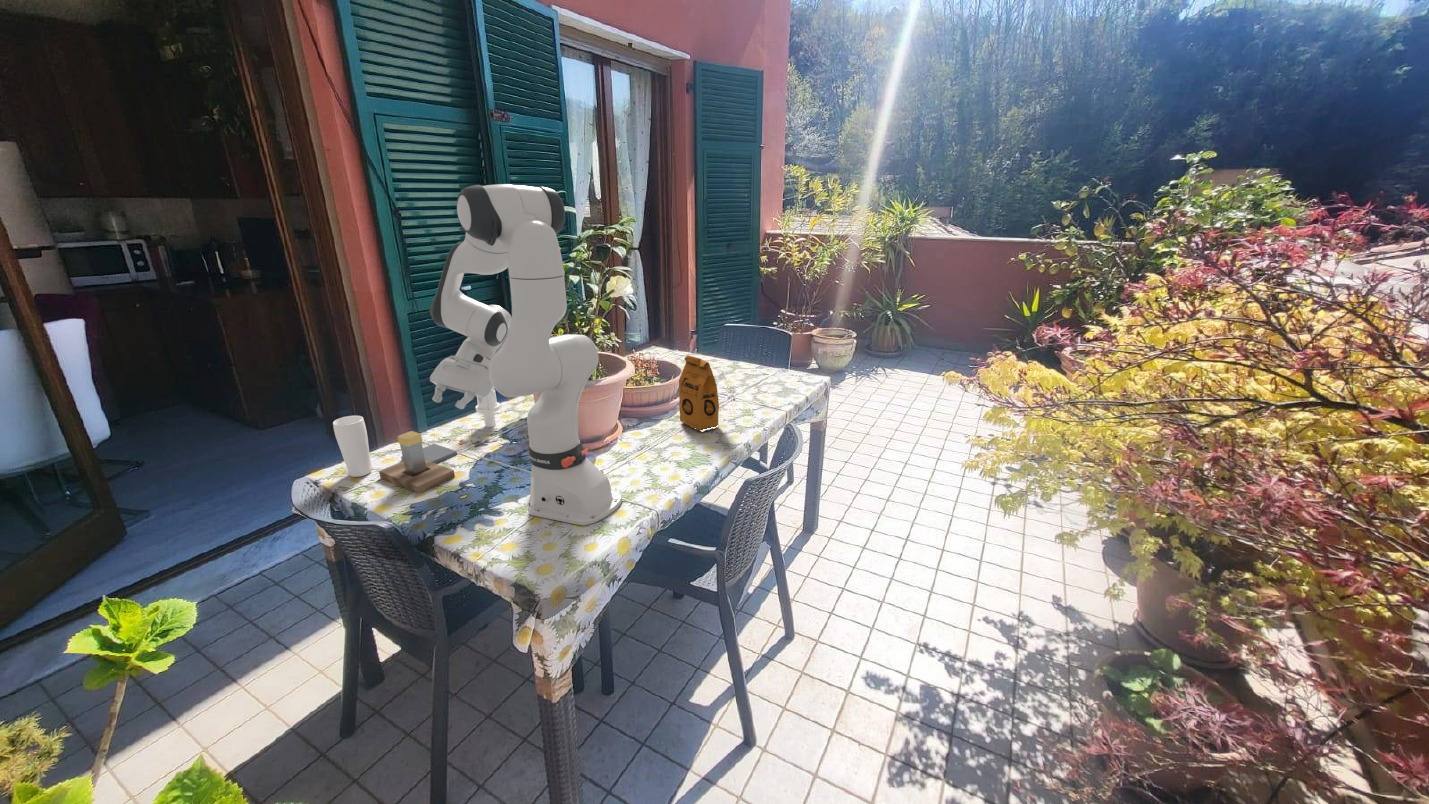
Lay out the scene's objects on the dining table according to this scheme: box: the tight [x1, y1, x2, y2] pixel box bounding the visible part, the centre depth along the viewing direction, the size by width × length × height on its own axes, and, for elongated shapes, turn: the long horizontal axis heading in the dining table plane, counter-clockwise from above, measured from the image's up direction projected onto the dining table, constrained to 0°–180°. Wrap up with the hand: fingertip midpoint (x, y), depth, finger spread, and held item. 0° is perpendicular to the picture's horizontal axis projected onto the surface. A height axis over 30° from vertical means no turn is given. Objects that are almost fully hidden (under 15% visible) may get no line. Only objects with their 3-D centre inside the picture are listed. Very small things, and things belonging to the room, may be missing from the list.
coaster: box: [400, 443, 458, 464], centre depth 157 cm, size 10×10×1 cm
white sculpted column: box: [475, 387, 501, 428], centre depth 176 cm, size 7×7×15 cm
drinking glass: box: [332, 415, 373, 478], centre depth 146 cm, size 7×7×15 cm
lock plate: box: [378, 460, 456, 494], centre depth 146 cm, size 16×10×2 cm, turn 60°
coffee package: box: [678, 354, 720, 431], centre depth 175 cm, size 10×12×22 cm
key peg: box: [397, 430, 427, 477], centre depth 144 cm, size 4×4×12 cm
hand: (447, 404), depth 150 cm, fingers open, 8 cm apart
